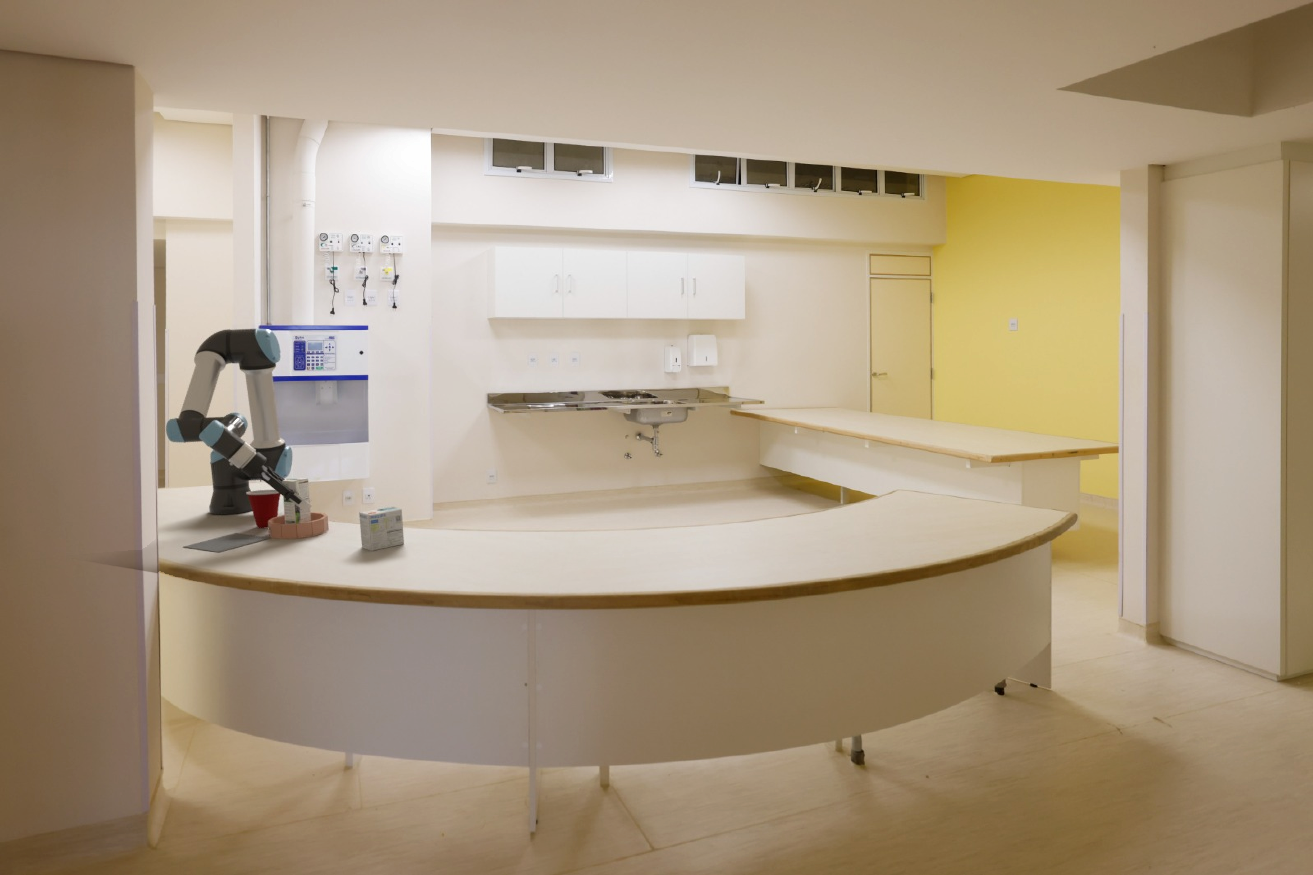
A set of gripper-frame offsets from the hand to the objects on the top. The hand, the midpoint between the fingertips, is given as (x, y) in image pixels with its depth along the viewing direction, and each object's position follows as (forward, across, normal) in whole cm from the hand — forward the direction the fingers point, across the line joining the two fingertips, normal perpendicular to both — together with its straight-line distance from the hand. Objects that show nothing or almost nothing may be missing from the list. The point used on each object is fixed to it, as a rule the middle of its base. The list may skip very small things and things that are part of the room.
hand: (308, 506), depth 274 cm
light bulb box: (+20, +31, +8) cm, 37 cm away
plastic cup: (-3, -14, -15) cm, 21 cm away
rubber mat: (-11, +4, -22) cm, 25 cm away
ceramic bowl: (+3, 0, -8) cm, 9 cm away
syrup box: (+2, 0, -6) cm, 7 cm away
